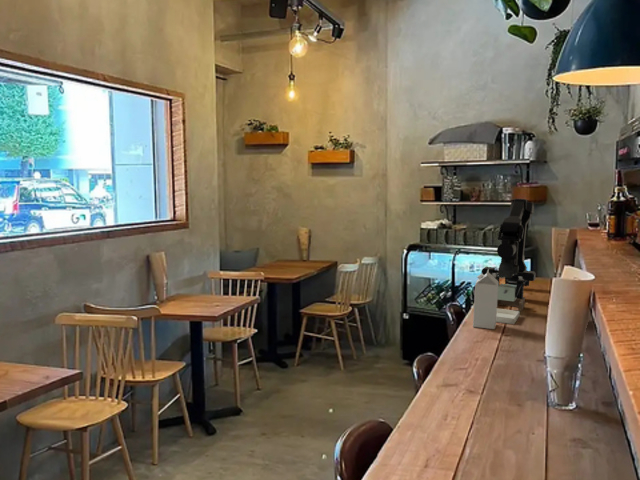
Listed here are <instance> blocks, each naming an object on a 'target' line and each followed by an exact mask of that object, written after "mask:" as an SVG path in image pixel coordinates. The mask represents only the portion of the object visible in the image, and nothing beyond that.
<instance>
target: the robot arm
mask: <svg viewBox="0 0 640 480" xmlns="http://www.w3.org/2000/svg"><path fill="white" fill-rule="evenodd" d="M509 208H510V210H509V216H508V217H506V218H504V219H503V221H502V223H501V224H500V227H499V231H498V237H497V240H498V241H501V243H500V244H499V245H498V247H497V248H496V252H497V255H498V257H500V263H499V266H498V268H497V269H496V267H493V266H485V267H483V268H482V269H481V273H480V274H482V273H483V275H485V274H486V273H487V271H488V269H489V273H490V274H491V275H492V276H493V277H494V278H495V279H496V280H497V281H498V282H499V284H498V286H499V285H500V278H504V284H510V285H517V287H516V292H515V298H516V297H517V298H516V299H526V297H525V296H524V290H525V289H524V288H525V287H529V286H530V282H534V281H535V280H536V277H537V276H536V275H537V274H536V272H535V271H533V270H527V268H528V267H527V265H526V263H525V244H526V235H527V225H528V223H529V222H530V221H531V220H532V215H534V212H535V205H534V202H531V201H528V199H525V198H513V200H512V201H511V202H510V207H509ZM523 259H524V261H523Z"/></svg>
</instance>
